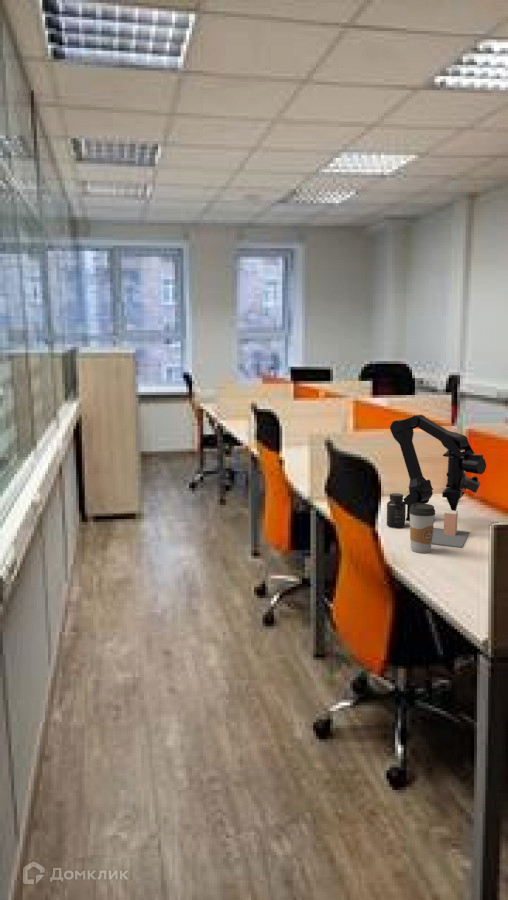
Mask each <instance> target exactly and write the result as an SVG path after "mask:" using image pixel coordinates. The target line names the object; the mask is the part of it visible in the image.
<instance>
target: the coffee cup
mask: <svg viewBox="0 0 508 900" xmlns="http://www.w3.org/2000/svg"><path fill="white" fill-rule="evenodd" d="M409 513H410V521H409V536H410V537H409V538H410V549H411V551H412V552H413V553H417V554H428V553H430V551H431V549H432V544H431V543H432V537H433V528H435V526H434V523H435V518H436V517H435V515H436V509H435V506H434V505H432V504H428V503H425V504H423V503H417V504H412V505H411V508H410V511H409Z"/></svg>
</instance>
